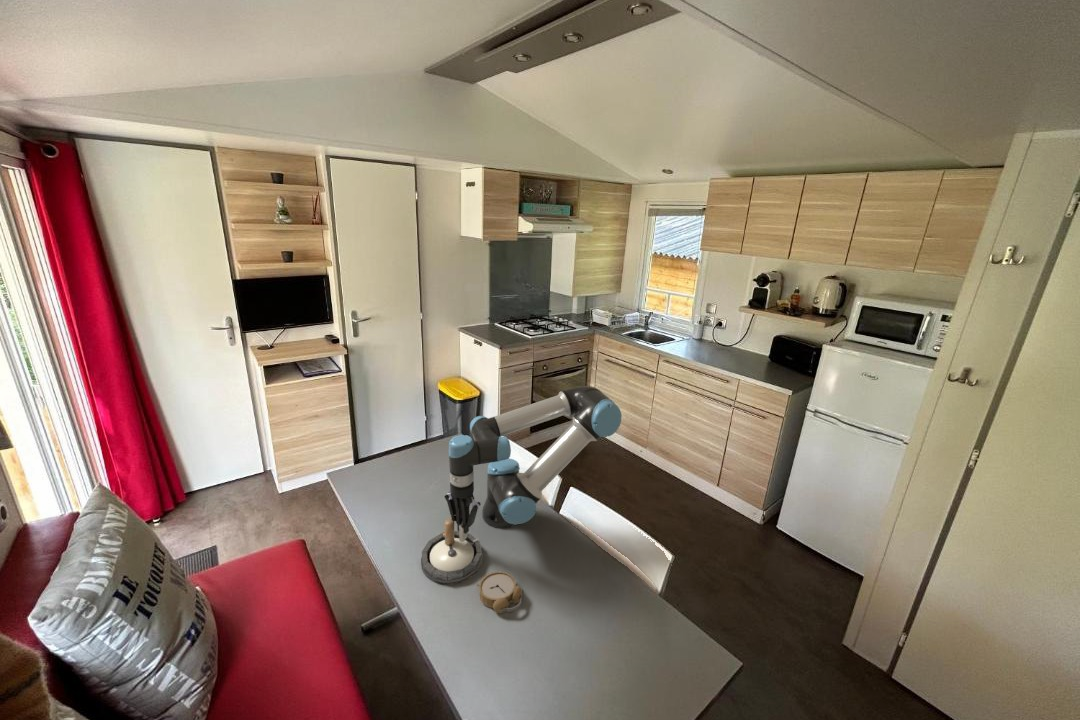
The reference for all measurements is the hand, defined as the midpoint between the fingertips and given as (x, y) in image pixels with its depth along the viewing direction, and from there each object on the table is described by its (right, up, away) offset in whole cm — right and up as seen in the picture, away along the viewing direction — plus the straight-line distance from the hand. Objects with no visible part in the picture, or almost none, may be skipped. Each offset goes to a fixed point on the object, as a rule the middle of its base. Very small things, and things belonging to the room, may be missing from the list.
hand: (463, 538), depth 149 cm
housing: (-3, -6, -3) cm, 7 cm away
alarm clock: (+14, -12, -16) cm, 24 cm away
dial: (-3, -4, -4) cm, 6 cm away
